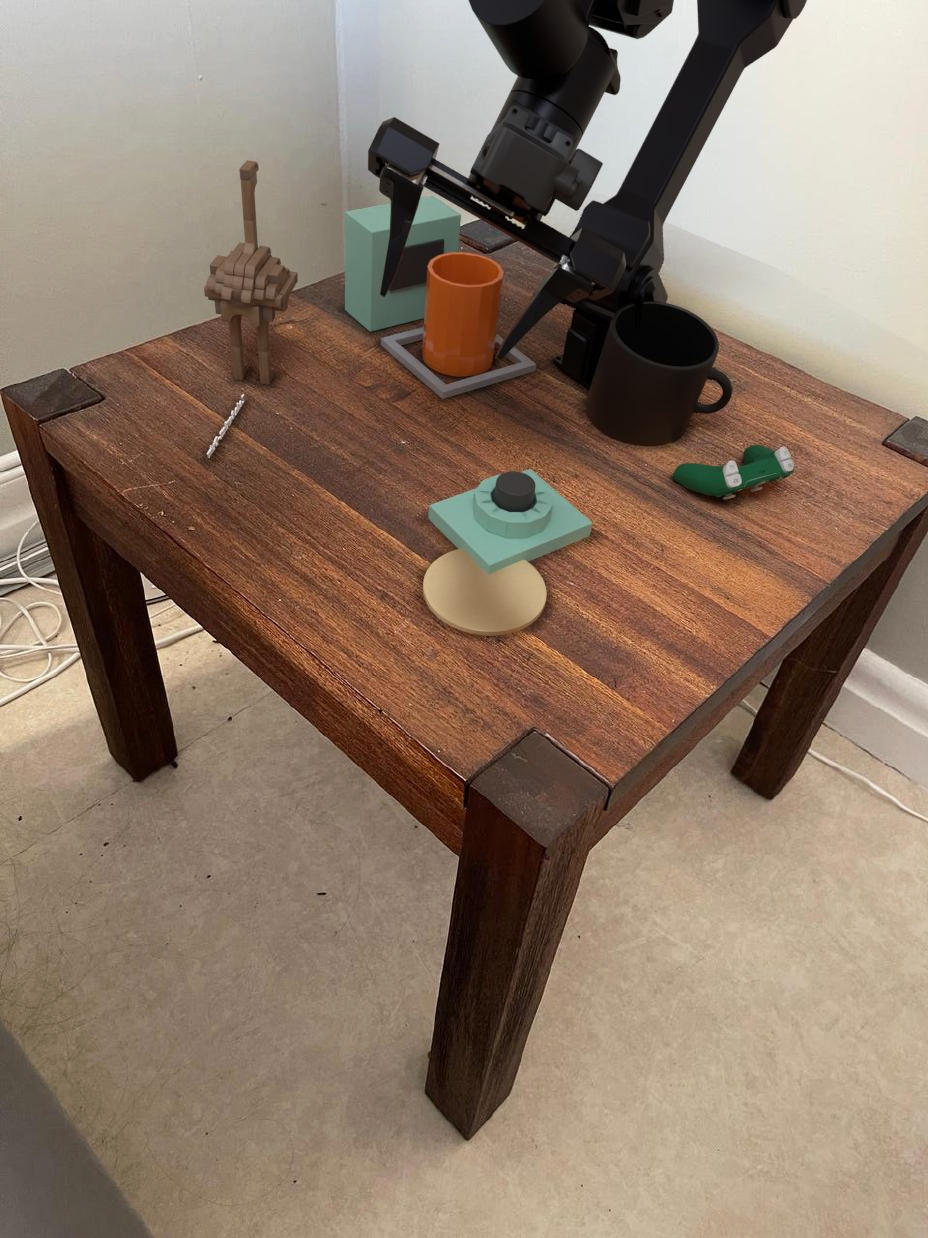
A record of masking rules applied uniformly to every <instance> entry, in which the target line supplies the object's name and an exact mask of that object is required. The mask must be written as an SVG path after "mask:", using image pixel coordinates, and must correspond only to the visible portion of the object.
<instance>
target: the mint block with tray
mask: <svg viewBox="0 0 928 1238" xmlns="http://www.w3.org/2000/svg"><path fill="white" fill-rule="evenodd" d="M390 211H391V202H390V203H384V204H379V205H373V206H367V207H362V208H358V209H352V210H346V211H344V311H346V312H347V313H348V314H349V315H350V316H351V317H352V318H353V319H354V320H355V321H357V322H358V323H359V324H360V325H361V326H362V327H364V329H366V330H367V331H368V332H369V333H371V332H376V331H379V330H383V329H387V328H391V327H395V326H398V325H403V324H407V323H411V322H415V321H418V320H422V319H423V320H424V313H425V297H426V281H427V266H428V264H429V262H430V260H431V259H433V258H435V257H436V256H438V255H442V254H446V253H451V252H459V244H460V235H461V234H460V232H461V222H462V214H461V213H460V212H458V211H456V210H455V209H453V208H452V207H451V206H449V205H448V204H446V203H445V202H443V201H442V200H441V199H439V198H438V197H436V196H435V195H427V196H421V198H420V201H419V205H418V208H417V211H416V214H415V217H414V220H413V223H412V226H411V229H410V232H409V235H408V238H407V241H406V244H405V247H404V250H403V253H402V256H401V259H400V262H399V265H398V268H397V271H396V274H395V277H394V280H393V282H392V284H391V286H390V288H389V290H388V292H387V294H386V296H385V297H383V296H381V295H380V291H381V285H382V279H383V273H384V267H385V261H386V255H387V249H388V243H389V236H390ZM423 329H424V326H422V327H419V328H418V327H417V328H415V329H411V330H406V331H403V332H399V333H394V334H391V335H387V336H384V337H381V338H380V346H381V347H382V348H383V349H384V350H386V352H388V353H389V354H390V355H391V356H392V357H393V358H394V359H395V360H397V361H398V362H399V363H400V364H401V365H403V366H404V367H405V368H406V369H407V370H408V371H409V372H410V373H412V374H413V376H415V377H416V378H418V380H419V381H420V382H422V383H423V384H424V385H425V386H426V387H428V388H429V389H430V390H432V391H433V393H435V394H436V395H437V396H438V397H440V399H442V400H444V399H447V398H451V397H454V396H458V395H461V394H464V393H469V392H470V391H474V390H477V389H480V388H484V387H487V386H490V385H494V384H497V383H501V382H504V381H507V380H511V379H514V378H516V377H517V378H518V377H520V376H523V375H527V374H530V373H534V372H536V370H537V364H536V363H535V362H534V361H533V360H532V359H530V358H529V357H527V356H526V355H525V354H524V353H522V352H521V351H520V350H519V349H518V348H516V347H515V346H514V347H513V348H512V349H511V350H510V351H509V352H508V353H507V354H506V356H505V357H504V358H506V359H508V360H509V361H510V362H512V363H513V364H511V365H507V366H504V367H501V368H497V369H494V370H491V371H486V372H483V373H481V374H478V375H473V376H469V377H466V378H464V379H460V380H456V381H454V382H450V383H445V382H444V381H443V380H441V378H439V377H438V376H437V375H436V374H435V373H433V372H432V371H431V370H430V369H428V367H426V365H424V364H423V363H422V362H420V360H418V358H416V357H415V356H414V355H412V354H411V353H410V352H409V351H408V350H407V349H405V348H404V347H403V346H404V345H405V346H406V345H409V344H413V343H417V342H420V341H423ZM503 340H504V338H503V337H501V336H500V335H499V334H498V333H497V334H496V342H495V350H496V351H498V350H499V348H500V346H501V344H502V342H503Z"/></svg>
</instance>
